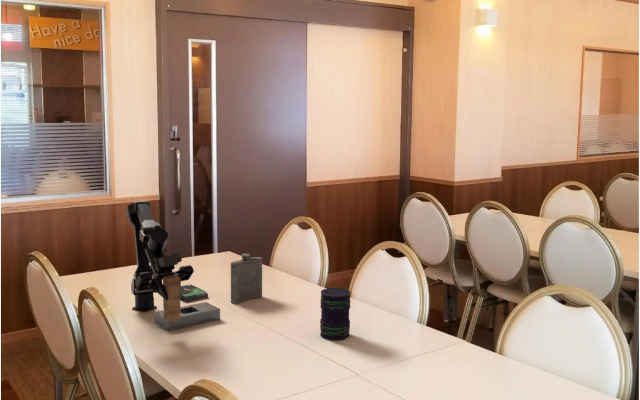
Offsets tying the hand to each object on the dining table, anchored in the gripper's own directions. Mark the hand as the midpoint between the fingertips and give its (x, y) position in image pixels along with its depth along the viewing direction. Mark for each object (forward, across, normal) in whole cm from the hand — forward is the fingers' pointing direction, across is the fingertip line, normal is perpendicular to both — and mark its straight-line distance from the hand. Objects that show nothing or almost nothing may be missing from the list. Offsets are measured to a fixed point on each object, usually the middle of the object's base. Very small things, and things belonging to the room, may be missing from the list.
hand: (173, 298), depth 217 cm
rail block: (+1, +11, +18) cm, 21 cm away
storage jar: (+30, +43, -12) cm, 54 cm away
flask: (-6, +42, +25) cm, 49 cm away
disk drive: (-18, +26, +38) cm, 50 cm away
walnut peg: (+4, 0, +6) cm, 7 cm away
